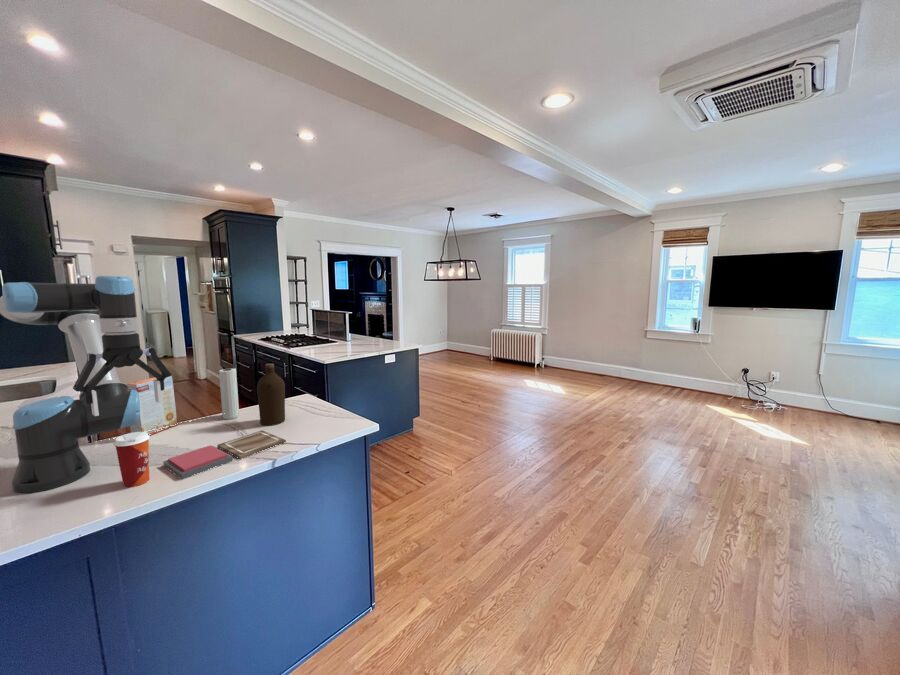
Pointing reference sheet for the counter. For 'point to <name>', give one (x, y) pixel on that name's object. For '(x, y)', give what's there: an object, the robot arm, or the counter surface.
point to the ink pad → (197, 461)
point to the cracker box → (154, 406)
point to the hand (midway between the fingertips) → (128, 408)
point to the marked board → (251, 444)
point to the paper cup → (133, 458)
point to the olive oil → (271, 397)
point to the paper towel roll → (229, 393)
